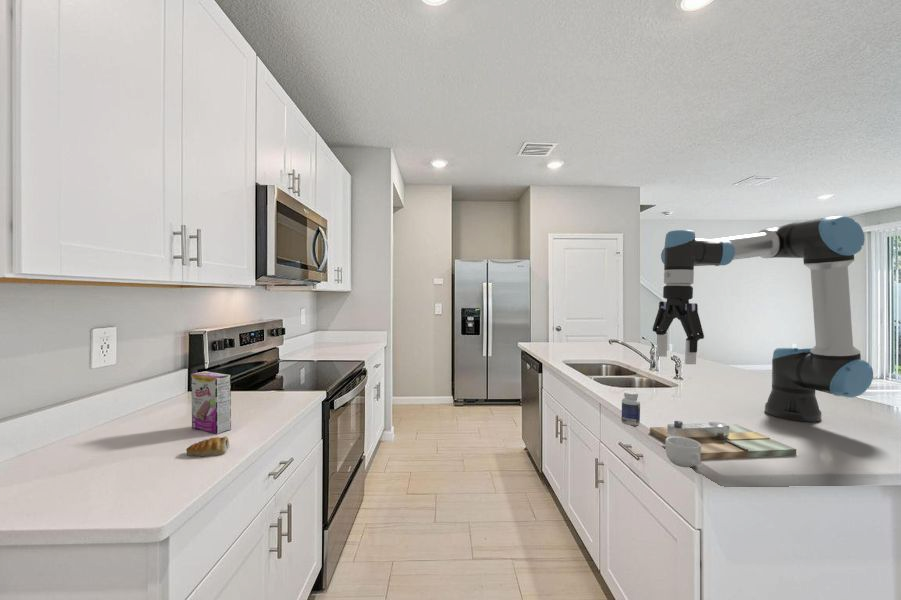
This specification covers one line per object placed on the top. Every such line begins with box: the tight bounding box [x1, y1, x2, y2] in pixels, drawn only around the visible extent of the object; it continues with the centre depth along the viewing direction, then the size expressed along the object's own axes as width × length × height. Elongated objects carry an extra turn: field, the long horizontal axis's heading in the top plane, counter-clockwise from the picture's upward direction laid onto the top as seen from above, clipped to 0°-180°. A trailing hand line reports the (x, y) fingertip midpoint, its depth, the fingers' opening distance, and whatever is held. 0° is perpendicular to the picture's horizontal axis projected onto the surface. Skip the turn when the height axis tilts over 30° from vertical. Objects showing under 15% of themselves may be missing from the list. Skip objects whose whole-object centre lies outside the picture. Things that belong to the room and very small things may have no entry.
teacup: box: [664, 436, 702, 468], centre depth 106 cm, size 10×8×5 cm
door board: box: [649, 424, 797, 460], centre depth 121 cm, size 28×20×2 cm
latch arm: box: [667, 420, 730, 437], centre depth 120 cm, size 16×5×4 cm, turn 97°
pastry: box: [185, 436, 230, 458], centre depth 111 cm, size 9×7×4 cm
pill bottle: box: [620, 390, 641, 426], centre depth 138 cm, size 5×5×10 cm
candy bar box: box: [190, 370, 232, 435], centre depth 128 cm, size 11×5×16 cm, turn 65°
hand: (675, 360), depth 125 cm, fingers open, 12 cm apart
